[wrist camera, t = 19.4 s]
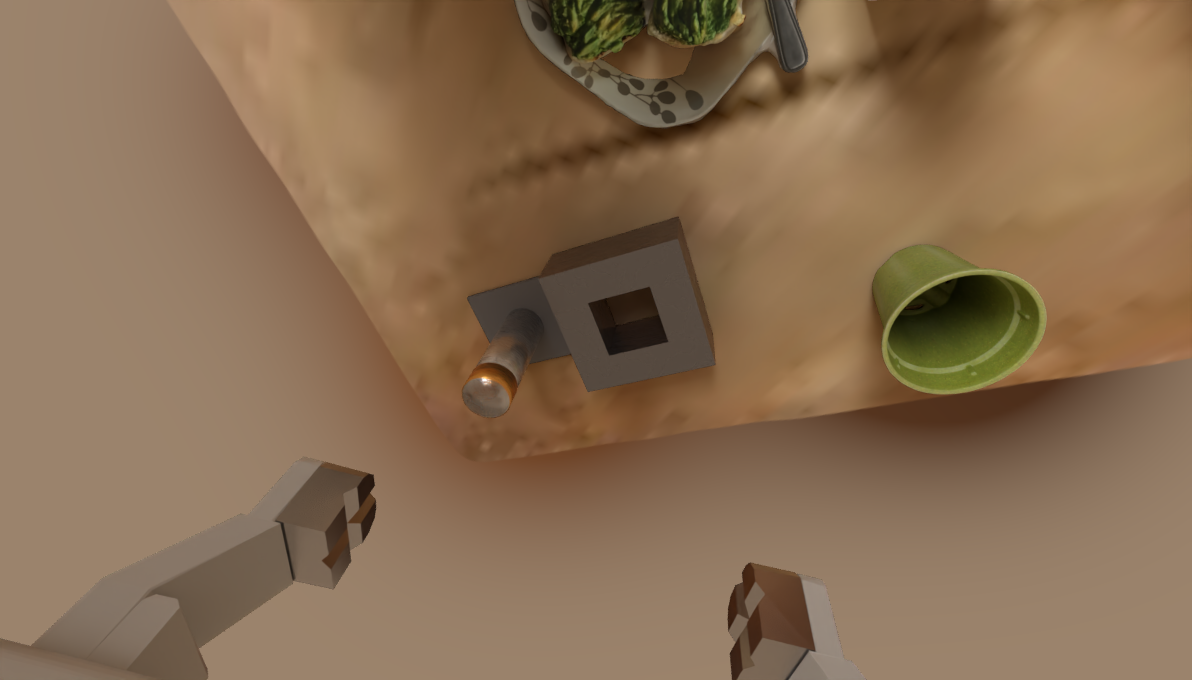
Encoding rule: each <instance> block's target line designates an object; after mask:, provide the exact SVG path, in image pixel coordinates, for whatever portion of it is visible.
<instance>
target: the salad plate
mask: <svg viewBox="0 0 1192 680" xmlns="http://www.w3.org/2000/svg"><path fill="white" fill-rule="evenodd" d="M514 2H515V6H516V9H517V12H518V15H519V18H520V21H521V25H522V27H523V29H524V30H525V32H526V35H527V36H528V38H529V40H530V41H531V42H532V43H533V44H534V45H535V46H536V48H537V49H538V50H539V52H540V53H541V54H543V55H544V56H545V57H546V58H547V59H548V60H549V61H550V62H551V63H552V64H554V65H555V66H556V67H558V68H559V69H560V70H561V71H563V72H564V73H566V74H567V75H569V76H570V77H571V78H573V79H575V80H576V81H577V82H578V83H580V84H581V85H582V86H584V87H585V88H586V89H588V90H589V91H590V92H592V93H593V94H595V95H596V96H598V97H599V98H600V99H601V100H602V101H603V102H604V103H605V104H606V105H608V106H610V107H612V108H613V109H614V110H616V111H618V112H619V113H621V114H623V115H624V116H626V117H628V118H629V119H631V120H632V121H634V122H635V123H637V124H639V125H644V126H647V127H657V128H658V127H660V128H665V129H666V128H670V127H674V126H680V125H683V124H689V123H694V122H696V121H699V120H701V119H702V118H703V117H704V116H706V115H707V114H708V113H709V112H710V111H711V110H712V109H713V108H714V107H715V106H716V104H717V103H718V101H719V100H720V99H721V98H722V96H723V95H725V94H726V93H727V92H728V90H729V89H730V88H731V87H732V86H733V85H734V84H735V83H736V81H737V80H738V78H739V77H740V75H741V74H742V73H743V72H744V71H745V69H746V68H747V66H748V65H749V64H750V62H752V61H753V60H755V59H756V58H757V56H759V55H760V54H761V53H763V52H768V51H769V52H770V53H772V54H773V55H774V56H775V57H776V59H777V60H778V63H779V66H780V68H782V69H783V70H784V71H785V72H788V73H790V72H792V73H795V72H797V71H799V70H801V69H803V68H804V66H805V65H806V64H807V62H808V51H807V47H806V43H805V40H804V37H803V35H802V32H801V29H800V27H799V24H798V20H797V17H796V10H795V8H796V2H797V0H514ZM646 26H647V33H648V34H649V35H651V36H654V37H656V38H657V39H659V40H660V41H662V42H664V43H666V44H668V45H671V46H674V47H678V48H689V47H695V48H694V51H693V54H692V58H691V60H690V62H689V64H688V67H687V69H686V71H685V72H684V74H683V75H679V76H676V77H672V78H668V79H642V78H638V77H634V76H632V75H630V74H625V73H623V72H622V71H620V70H618V69H617V68H615V67H613V66H611V65H610V64H608V63H607V62H605V61H604V60H602V59H601V58H602V57H604V56H606V55H607V54H609V53H610V52H614V53H616V52H619V51H621V49H622V47H623V46H624V43H625V42H627V41H628V40H631V39H632V38H633V37H635V36H636V35H638V34H639V33H640V31H641V30H642V29H643V28H645V27H646Z"/></svg>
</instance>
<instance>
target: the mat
mask: <svg viewBox="0 0 1192 680" xmlns="http://www.w3.org/2000/svg"><path fill="white" fill-rule="evenodd" d="M539 277H540V276H537V277H534V278H531V279H527V280H524V281H520V282H517V283H513V284H510V285H506V286H503V287H500V288H496V289H493V290H489V291H486V292H482V293H479V294H475V295H472V296H469V297H468V298H467V299H468V301H469V303H470V305H471V307H472V309H473V311H474V313H475V315H476V317H477V319H478V321H479V323H480V325H481V327H482V329H483V330H484V332H485V334H486V336H487V338H488V340H489V342H490V343H491V341H492V340H493V338H494V336H495V335H496V333H497V331H498V330H499V328H500V327H501V325H502V323H503V322H504V320H505V318H506V317H507V315H508V314H509V313H510V312H511V311H512V310H515V309H518V308H525V309H529V310H531V311H533V312H535V313H536V314H537V315H538V316H539V317H540V318H541V320H542V322H543V327H544V330H543V334H542V336H541V338H540V340H539V342H538V345H537V347H536V349H535V351H534V353H533V355H532V358H531V360H530V362H529V364H531V363H536V362H540V361H544V360H548V359H552V358H557V357H561V356H565V355H569V354H571V352H570V350H569V348H568V346H567V343H566V341H565V339H564V337H563V334H562V332H561V330H560V327H559V325H558V323H557V321H556V318H555V316H554V314H553V312H552V309H551V307H550V305H549V303H548V300H547V298H546V296H545V293H544V291H543V289H542V287H541V284H540V282H539V280H538V278H539Z"/></svg>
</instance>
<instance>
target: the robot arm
mask: <svg viewBox="0 0 1192 680" xmlns="http://www.w3.org/2000/svg"><path fill="white" fill-rule="evenodd" d="M374 486H375V482H374V475H372V474H369V473H366V472H362V471H358V470H354V469H350V468H346V467H343V466H339V465H335V464H332V463H328V462H324V461H320V460H316V459H312V458H307V457H302V458H301V459H299V460H297V461H296V462H295V463H294V464H293V465H292V466H291V467H290V468H289V470H288V471H287V472H286V473H285V474H284V475H283V476H282V477H281V478H280V480H279V481H278V482H277V483H276V484H275V485H274V487H272V488H271V490H270V491H269V492H268V493H267V494H266V495H265V496H264V497H263V499H262V500H261V501H260V502H259V503H258V504H257V505H256V506H255V508H254V509H253V510H252V511H251V512H250V513H249V514H248V515H245V514H239V515H237V516H235V517H233V518H230V519H228V520H226V521H224V522H222V523H220V524H217V525H216V526H213V527H211V528H209V529H207V530H205V531H202V532H200V533H198V534H196V535H194V536H192V537H189V538H187V539H185V540H183V541H181V542H179V543H176V544H174V545H172V546H170V547H168V548H166V549H164V550H161V551H159V552H157V553H155V554H153V555H151V556H149V557H147V558H144V559H142V560H140V561H138V562H136V563H133V564H131V565H129V566H127V567H125V568H123V569H120V570H118V571H116V572H114V573H112V574H110V575H108V576H105V577H103V578H102V579H101V580H100V581H99V582H98V583H96V584H95V585H94V586H93V587H92V588H91V589H90V590H89V591H88V592H87V593H86V594H85V595H84V596H83V597H82V598H81V599H80V600H79V601H78V602H77V603H75V605H73V606H72V607H71V608H70V609H69V610H68V611H67V612H66V613H65V614H64V615H63V616H62V617H61V618H60V619H59V620H57V622H55V623H54V625H52V626H51V627H50V628H49V629H48V630H47V631H46V632H45V633H44V634H43V635H42V636H41V637H40V638H39V639H38V640H37V641H35V643H33V644H32V645H31V646H29V645H25V644H21V643H17V642H13V641H9V640H5V639H1V638H0V680H207V679H208V670H207V667H206V665H205V662H204V660H203V658H202V655H201V653H200V651H199V648H200V647H202V646H203V645H205V644H206V643H208V642H209V641H210V640H212V639H213V638H215V637H216V636H218V635H219V634H221V633H222V632H223V631H225V630H226V629H228V628H229V627H231V626H232V625H234V624H235V623H236V622H238V621H239V620H241V619H242V618H243V617H245V616H247V615H248V614H249V613H251V612H252V611H254V610H255V609H257V608H258V607H260V606H261V605H263V604H264V603H265V602H267V601H268V600H270V599H271V598H273V597H274V596H276V595H277V594H278V593H280V592H281V591H283V590H284V589H286V588H287V587H288V586H290V585H291V584H293V581H297V582H302V583H306V584H311V585H315V586H320V587H325V588H329V589H334V588H335V586H336V585H337V583H338V582H339V580H340V578H341V577H342V575H343V574H344V572H345V570H346V569H347V567H348V565H349V564H350V562H351V555H350V550H351V549H353V548H355V547H357V546H358V545H360V544H362V543H363V541H364V540H365V538H366V536H367V535H368V533H369V531H370V529H371V526H372V523H373V521H374V518H375V513H376V499H375V498H374V497H373V496H372V495H371V494H370V492H371V490H372V489H373V488H374ZM742 578H743V582H742V583H740V584H737V585H735V587H734V590H733V592H732V594H731V597H730V602H729V607H728V632H729V633H730V635H731V636H732V638H733V639H734V641H735V642H736V643H735V645H734V647H733V648H732V650H731V652H730V662H731V674H732V680H866V678H865V677H864V676H863V675H862V674H861V672H860V671H859V669H858V668H857V667H856V666H855V664H854V663H853V662H852V661H850V660H846V659H844V655H843V651H842V648H841V644H840V640H839V636H838V632H837V628H836V624H835V620H834V616H833V612H832V609H831V604H830V600H829V597H828V593H827V589H826V585H825V583H824V582H823V580H822V579H818V578H814V577H810V576H805V575H801V574H796V573H795V572H791V571H786V570H781V569H777V568H772V567H768V566H763V565H759V564H754V563H748V564H747V565H746V566H745V568H744V570H743V572H742Z"/></svg>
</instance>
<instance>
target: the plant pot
mask: <svg viewBox="0 0 1192 680" xmlns="http://www.w3.org/2000/svg"><path fill="white" fill-rule="evenodd" d="M948 280H950V282H949V283H947V284H946V283H945V282H946V281H948ZM872 290H873V296H874V299H875V302H876V306H877V308H878V312H879V315H880V318H881V321H882V325H883V329H884V330H883V334H882V339H881V350H882V356H883V359H884V362H885V364H886V366H887V368H888V370H889V371H890V373H891V374H892V375H893V376H894V377H895V378H896V379H897V380H898V381H900V382H901V383H902V384H904V385H906V386H908V387H910V388H912V389H915V390H917V391H921V392H925V393H931V394H958V393H964V392H969V391H974V390H977V389H980V388H983V387H986V386H988V385H990V384H993V383H995V382H997V381H999V380H1001V379H1003V378H1005V377H1006V376H1008V375H1009V374H1011V373H1012V372H1014V371H1015V370H1017V369H1018V368H1019V367H1020V366H1021V365H1022V364H1024V363H1025V362H1026V361H1027V360H1028V359H1029V357H1030V356H1031V355H1032V354H1033V352H1034V351H1035V350H1036V348H1037V347H1038V345H1039V343H1040V341H1041V340H1042V337H1043V335H1044V332H1045V327H1046V319H1047V316H1046V308H1045V305H1044V302H1043V300H1042V298H1041V296H1040V295H1039V293H1038V292H1037V291H1036V289H1035V288H1034V287H1033V286H1031V285H1030V284H1029V283H1028V282H1026V281H1025V280H1023V279H1022V278H1020V277H1018V276H1016V275H1014V274H1012V273H1009V272H1006V271H1002V270H997V269H986V268H979V267H977V266H975V265H973V264H971V263H969V262H967V261H965V260H963V259H962V258H960V257H958V256H956V255H954V254H953V253H951V252H949V251H947V250H945V249H942V248H940V247H937V246H933V245H917V246H912V247H908V248H905V249H903V250H900V251H899V252H897V253H895V254H894V255H892V257H891V258H890V259H889V260H888V261H887V262H886V263H885V264H884V265H883V266H882V267H880V268H879V269H878V271H877V273H876V275H875V277H874V280H873V286H872ZM919 304H923V307H921V308H919V309H916V310H906V309H904V308H905V307H906V306H916V305H919Z"/></svg>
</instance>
